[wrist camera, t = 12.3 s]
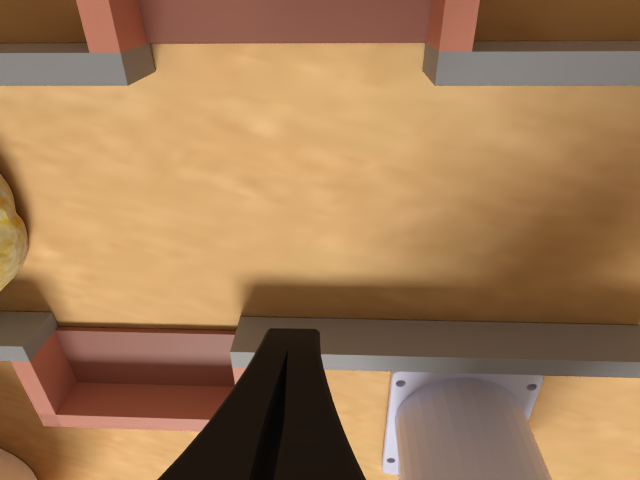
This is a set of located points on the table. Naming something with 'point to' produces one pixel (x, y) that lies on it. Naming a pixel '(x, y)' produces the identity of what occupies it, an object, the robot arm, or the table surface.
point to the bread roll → (10, 236)
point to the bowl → (14, 468)
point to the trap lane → (335, 334)
